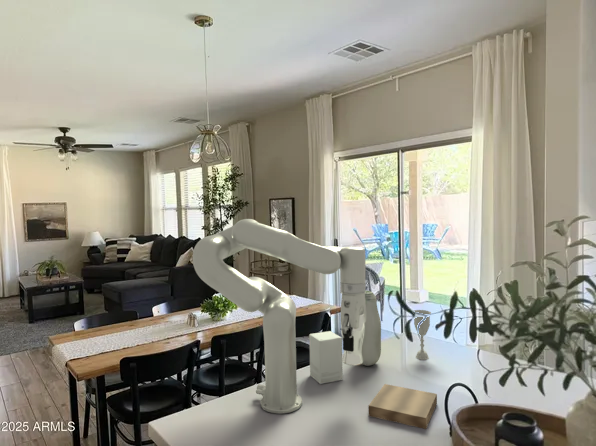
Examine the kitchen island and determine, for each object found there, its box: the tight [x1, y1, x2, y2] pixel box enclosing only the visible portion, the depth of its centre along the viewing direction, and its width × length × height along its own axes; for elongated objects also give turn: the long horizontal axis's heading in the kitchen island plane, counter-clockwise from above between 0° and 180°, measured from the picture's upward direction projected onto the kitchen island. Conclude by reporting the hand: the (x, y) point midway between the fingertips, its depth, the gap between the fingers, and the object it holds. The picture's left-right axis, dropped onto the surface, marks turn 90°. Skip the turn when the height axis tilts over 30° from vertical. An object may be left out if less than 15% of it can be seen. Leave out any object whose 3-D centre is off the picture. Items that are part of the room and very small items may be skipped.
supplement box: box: [308, 330, 344, 385], centre depth 144 cm, size 9×9×15 cm
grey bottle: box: [361, 290, 382, 367], centre depth 155 cm, size 10×10×28 cm
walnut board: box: [367, 383, 438, 430], centre depth 120 cm, size 16×16×3 cm
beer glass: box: [340, 313, 365, 366], centre depth 124 cm, size 7×7×15 cm
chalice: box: [413, 309, 432, 361], centre depth 161 cm, size 7×7×18 cm
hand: (352, 346), depth 124 cm, fingers closed on beer glass, 6 cm apart
